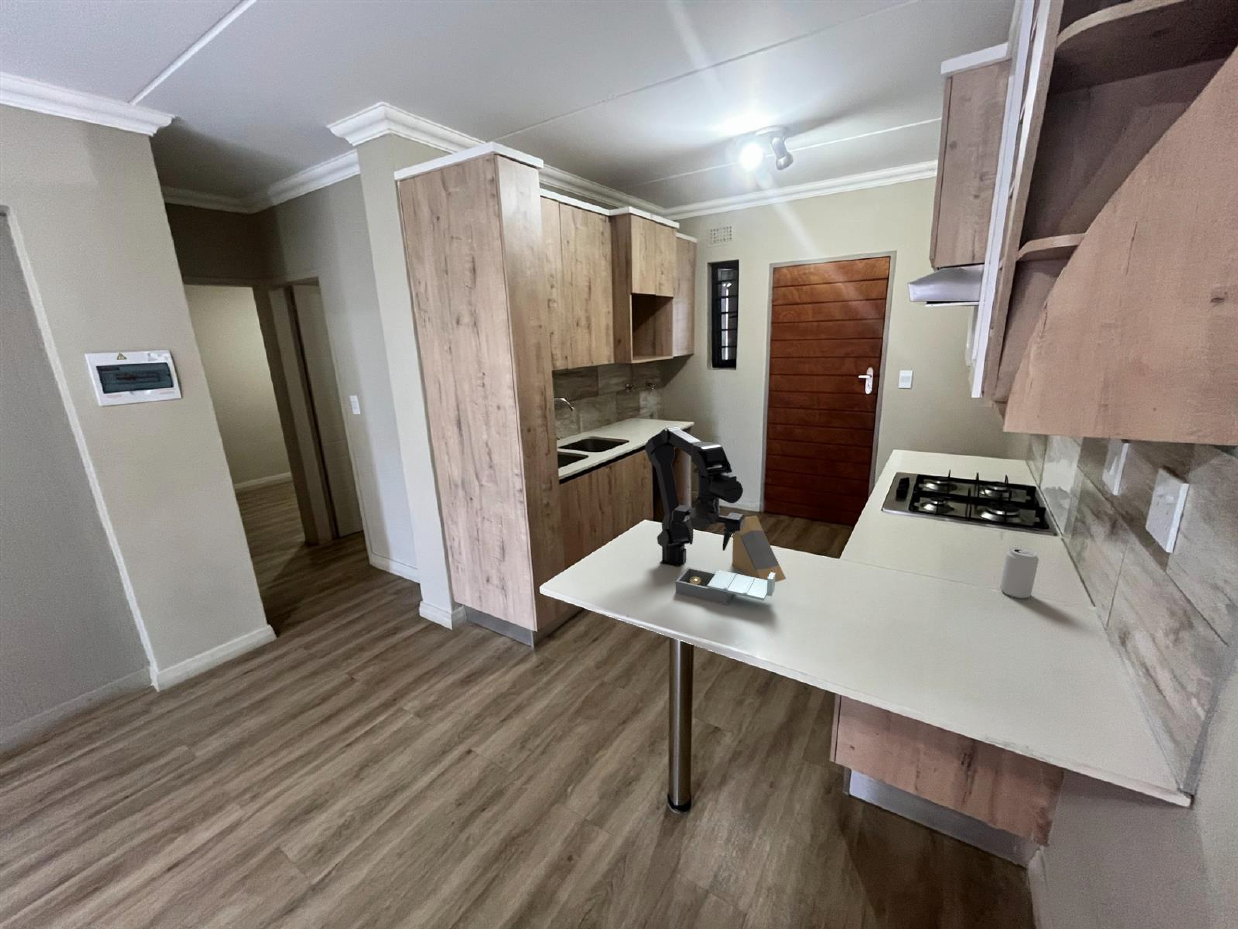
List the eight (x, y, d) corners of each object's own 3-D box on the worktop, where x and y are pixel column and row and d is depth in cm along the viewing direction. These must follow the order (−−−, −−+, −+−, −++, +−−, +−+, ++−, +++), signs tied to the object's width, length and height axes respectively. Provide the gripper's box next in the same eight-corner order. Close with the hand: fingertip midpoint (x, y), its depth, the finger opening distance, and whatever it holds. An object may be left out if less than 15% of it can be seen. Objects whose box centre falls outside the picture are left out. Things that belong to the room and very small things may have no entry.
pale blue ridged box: (707, 587, 124) (707, 571, 123) (718, 572, 132) (718, 556, 131) (768, 602, 117) (769, 584, 116) (776, 584, 125) (777, 568, 124)
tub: (675, 594, 130) (675, 581, 129) (687, 580, 137) (688, 567, 136) (726, 607, 123) (727, 593, 122) (736, 591, 131) (737, 577, 130)
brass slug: (687, 590, 131) (688, 580, 130) (691, 585, 133) (692, 575, 132) (698, 593, 129) (698, 582, 128) (702, 588, 132) (702, 578, 131)
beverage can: (1001, 584, 130) (1009, 544, 127) (1032, 593, 126) (1041, 551, 123) (997, 593, 126) (1005, 551, 123) (1028, 602, 121) (1038, 559, 118)
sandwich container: (764, 588, 132) (766, 538, 128) (730, 565, 146) (732, 519, 142) (788, 582, 135) (792, 532, 131) (754, 560, 149) (756, 514, 145)
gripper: (663, 496, 124) (663, 552, 128) (735, 506, 115) (732, 566, 119) (679, 484, 133) (679, 537, 137) (747, 493, 124) (744, 549, 128)
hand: (707, 547), depth 130 cm, fingers open, 9 cm apart
